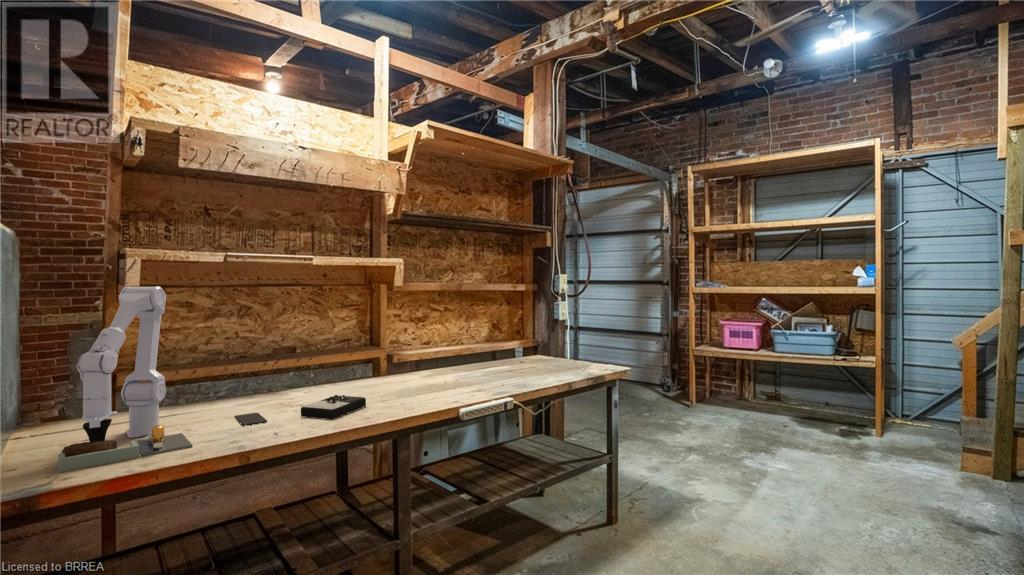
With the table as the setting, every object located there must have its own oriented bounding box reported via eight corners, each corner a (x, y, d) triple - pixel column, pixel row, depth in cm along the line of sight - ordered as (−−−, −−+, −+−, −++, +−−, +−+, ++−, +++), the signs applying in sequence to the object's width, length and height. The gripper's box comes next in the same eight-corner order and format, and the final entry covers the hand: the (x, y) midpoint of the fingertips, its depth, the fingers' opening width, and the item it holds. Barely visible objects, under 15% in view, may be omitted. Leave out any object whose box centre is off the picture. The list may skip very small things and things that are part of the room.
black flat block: (366, 407, 184) (366, 393, 184) (332, 420, 165) (332, 405, 165) (336, 404, 188) (336, 391, 188) (300, 417, 169) (300, 403, 169)
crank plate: (135, 443, 141) (135, 440, 141) (181, 435, 148) (181, 432, 148) (142, 456, 130) (142, 453, 130) (192, 447, 137) (192, 444, 137)
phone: (257, 412, 174) (268, 420, 162) (257, 414, 174) (268, 423, 162) (233, 415, 169) (242, 424, 157) (233, 418, 169) (242, 427, 157)
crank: (146, 440, 140) (146, 421, 140) (163, 437, 143) (163, 418, 143) (149, 449, 132) (149, 429, 132) (167, 446, 135) (167, 426, 135)
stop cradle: (57, 466, 123) (57, 453, 123) (136, 451, 133) (136, 440, 133) (57, 472, 119) (57, 459, 119) (139, 457, 129) (139, 445, 129)
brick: (117, 457, 130) (117, 439, 130) (109, 462, 126) (109, 443, 126) (69, 460, 127) (69, 442, 127) (59, 466, 123) (59, 447, 123)
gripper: (114, 400, 128) (115, 453, 128) (118, 390, 139) (118, 439, 139) (78, 404, 123) (78, 459, 123) (85, 394, 135) (85, 444, 135)
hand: (97, 449), depth 131 cm, fingers closed
